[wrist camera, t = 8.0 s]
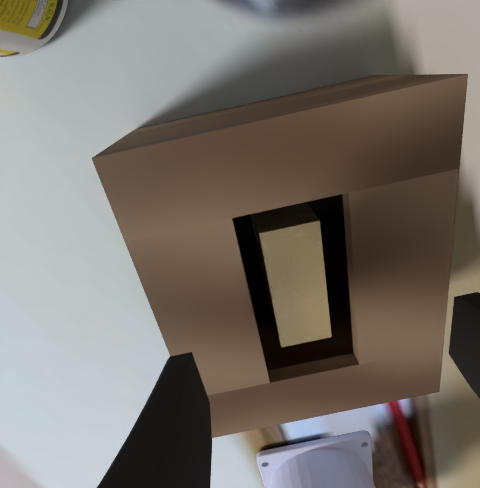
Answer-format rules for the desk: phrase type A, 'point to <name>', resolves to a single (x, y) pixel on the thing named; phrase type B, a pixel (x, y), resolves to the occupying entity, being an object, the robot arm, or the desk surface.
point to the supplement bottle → (28, 24)
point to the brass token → (294, 272)
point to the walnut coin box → (285, 194)
